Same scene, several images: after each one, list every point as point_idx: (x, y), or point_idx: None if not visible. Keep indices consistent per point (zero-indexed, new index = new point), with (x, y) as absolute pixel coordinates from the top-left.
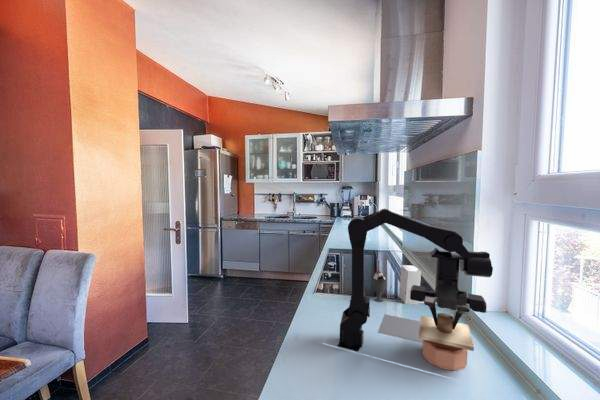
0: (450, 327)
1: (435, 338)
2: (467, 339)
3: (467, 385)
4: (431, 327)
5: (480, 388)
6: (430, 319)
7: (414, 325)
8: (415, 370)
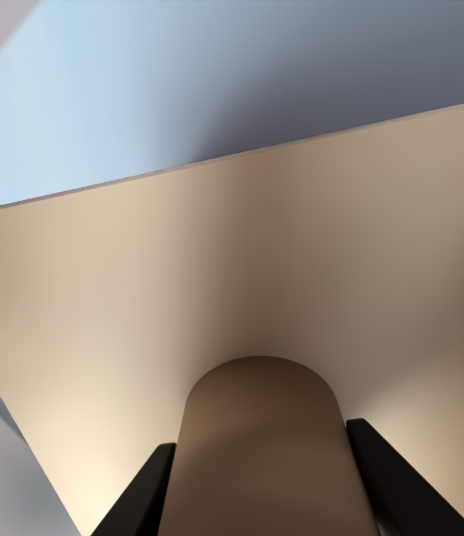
0: (185, 438)
1: (325, 141)
2: (21, 358)
3: (83, 91)
4: (394, 390)
5: (22, 114)
6: None
7: None
8: (392, 22)
